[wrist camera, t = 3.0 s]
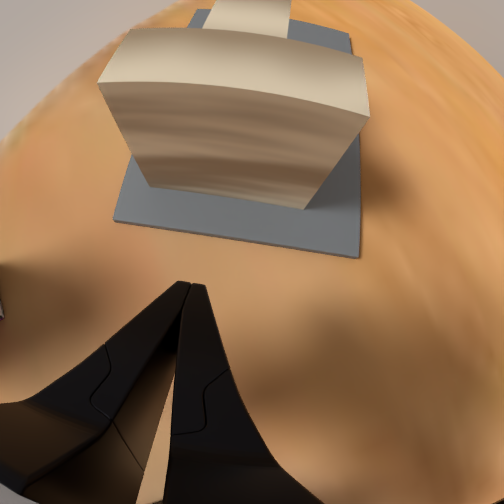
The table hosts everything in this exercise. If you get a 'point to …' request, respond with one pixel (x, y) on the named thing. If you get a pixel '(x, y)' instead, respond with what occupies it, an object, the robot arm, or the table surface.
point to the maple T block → (236, 105)
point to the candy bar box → (1, 311)
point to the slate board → (256, 213)
